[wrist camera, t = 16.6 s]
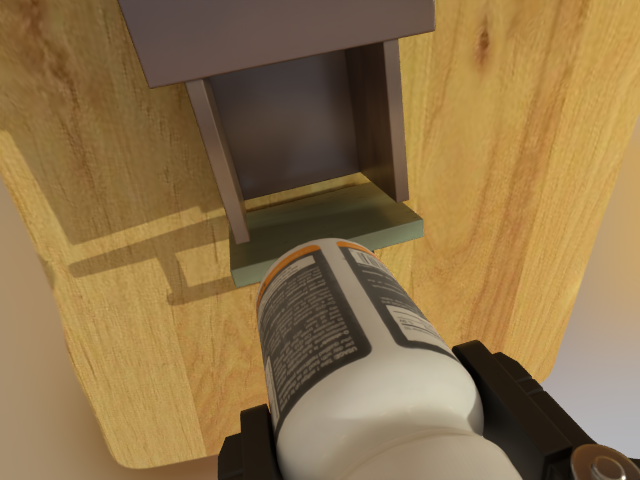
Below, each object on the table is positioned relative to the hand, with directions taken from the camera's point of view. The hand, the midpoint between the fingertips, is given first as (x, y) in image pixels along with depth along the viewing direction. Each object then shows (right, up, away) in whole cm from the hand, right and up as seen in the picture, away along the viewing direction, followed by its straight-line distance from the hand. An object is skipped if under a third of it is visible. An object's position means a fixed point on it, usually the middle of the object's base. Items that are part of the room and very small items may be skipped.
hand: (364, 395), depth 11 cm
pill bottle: (-1, +2, +5) cm, 6 cm away
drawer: (-3, +11, +15) cm, 19 cm away
